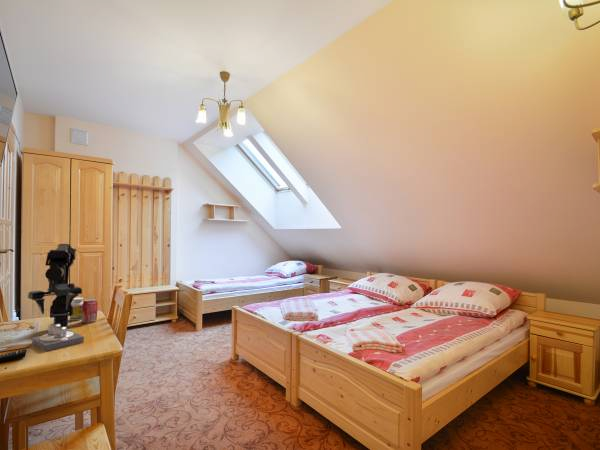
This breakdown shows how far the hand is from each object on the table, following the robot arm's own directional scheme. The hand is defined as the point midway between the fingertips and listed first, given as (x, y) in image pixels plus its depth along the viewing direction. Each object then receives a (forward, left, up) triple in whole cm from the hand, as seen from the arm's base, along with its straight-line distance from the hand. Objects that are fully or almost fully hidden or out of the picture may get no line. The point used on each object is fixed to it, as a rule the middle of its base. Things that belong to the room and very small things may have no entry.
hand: (55, 311), depth 141 cm
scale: (+5, 0, -13) cm, 14 cm away
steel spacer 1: (0, 0, -10) cm, 10 cm away
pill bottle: (-30, +21, -13) cm, 39 cm away
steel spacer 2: (+7, 0, -10) cm, 12 cm away
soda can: (-20, +23, -13) cm, 33 cm away
